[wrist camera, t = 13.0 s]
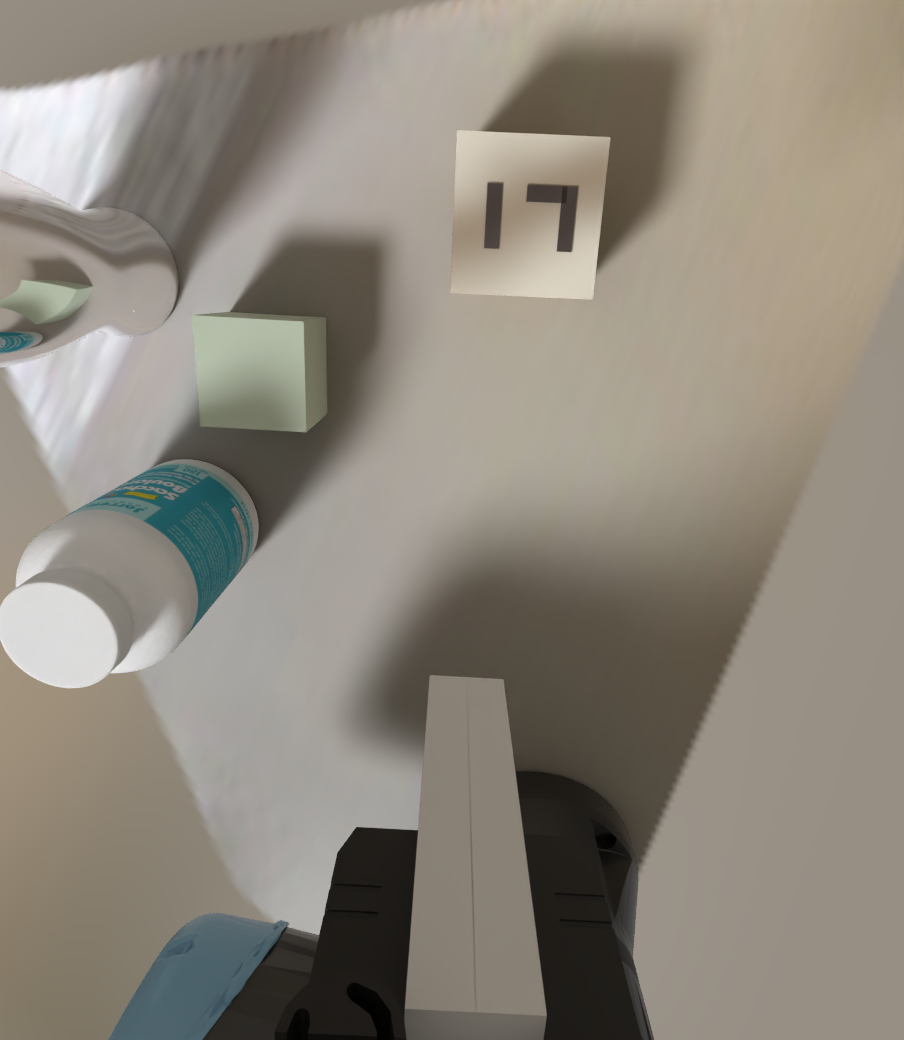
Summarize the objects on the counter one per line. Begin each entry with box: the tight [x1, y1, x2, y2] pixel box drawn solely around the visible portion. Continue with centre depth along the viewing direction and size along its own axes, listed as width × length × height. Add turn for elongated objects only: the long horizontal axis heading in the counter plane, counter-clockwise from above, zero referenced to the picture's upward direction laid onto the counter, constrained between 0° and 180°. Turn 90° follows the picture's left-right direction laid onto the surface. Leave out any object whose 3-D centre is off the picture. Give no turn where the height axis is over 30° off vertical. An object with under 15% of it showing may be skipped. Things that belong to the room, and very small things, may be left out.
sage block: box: [191, 312, 327, 432], centre depth 32 cm, size 5×5×5 cm
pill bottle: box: [0, 459, 259, 688], centre depth 31 cm, size 8×7×14 cm
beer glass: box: [0, 170, 178, 367], centre depth 26 cm, size 7×7×15 cm
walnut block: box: [451, 130, 611, 300], centre depth 29 cm, size 6×6×6 cm
